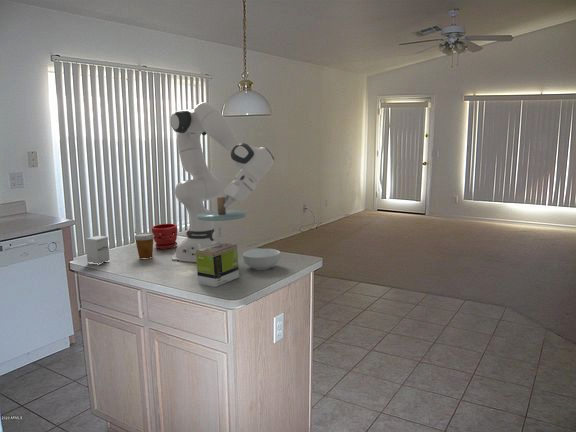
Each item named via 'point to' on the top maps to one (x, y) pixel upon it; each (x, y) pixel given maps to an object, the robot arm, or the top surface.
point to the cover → (221, 213)
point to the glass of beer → (144, 244)
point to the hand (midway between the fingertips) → (223, 206)
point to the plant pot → (165, 235)
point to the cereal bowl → (261, 258)
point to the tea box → (217, 264)
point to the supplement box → (97, 249)
